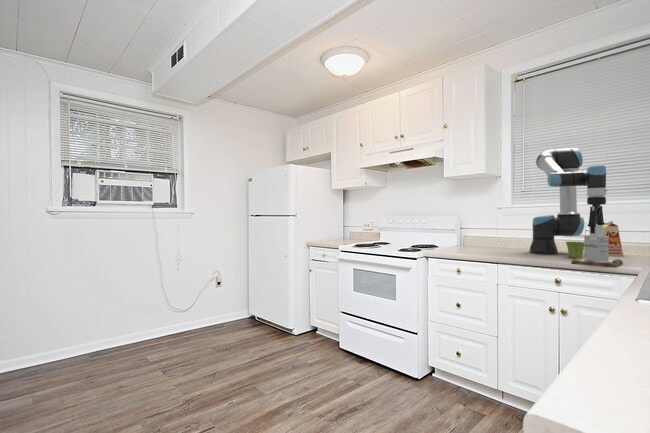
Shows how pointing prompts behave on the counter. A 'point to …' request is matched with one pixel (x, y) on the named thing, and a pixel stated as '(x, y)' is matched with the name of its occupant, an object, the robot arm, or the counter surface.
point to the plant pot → (575, 249)
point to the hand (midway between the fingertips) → (596, 239)
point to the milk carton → (613, 239)
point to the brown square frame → (604, 263)
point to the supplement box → (596, 248)
